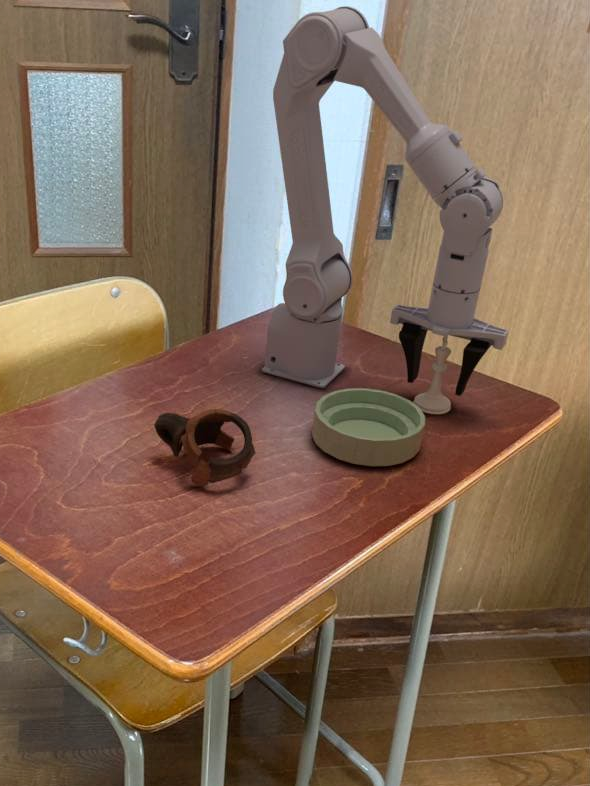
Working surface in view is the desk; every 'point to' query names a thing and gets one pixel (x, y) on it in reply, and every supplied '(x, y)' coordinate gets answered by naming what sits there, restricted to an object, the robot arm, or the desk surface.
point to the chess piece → (436, 385)
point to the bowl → (368, 427)
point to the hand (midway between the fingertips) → (435, 386)
